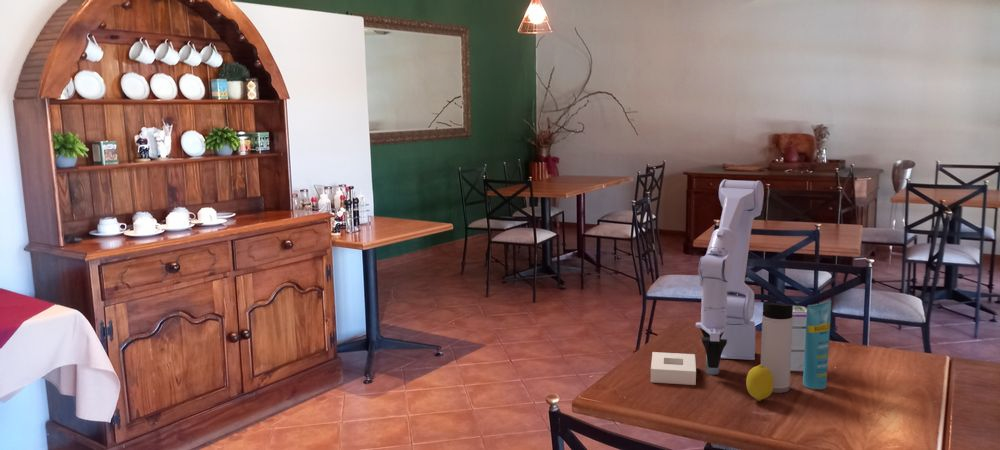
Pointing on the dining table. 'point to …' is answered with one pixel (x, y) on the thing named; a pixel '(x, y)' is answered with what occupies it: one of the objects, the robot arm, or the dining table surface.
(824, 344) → the tube
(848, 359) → the dining table surface
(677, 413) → the dining table surface
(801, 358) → the syrup box
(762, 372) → the lemon
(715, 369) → the dowel
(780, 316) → the travel mug
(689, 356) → the bore block
